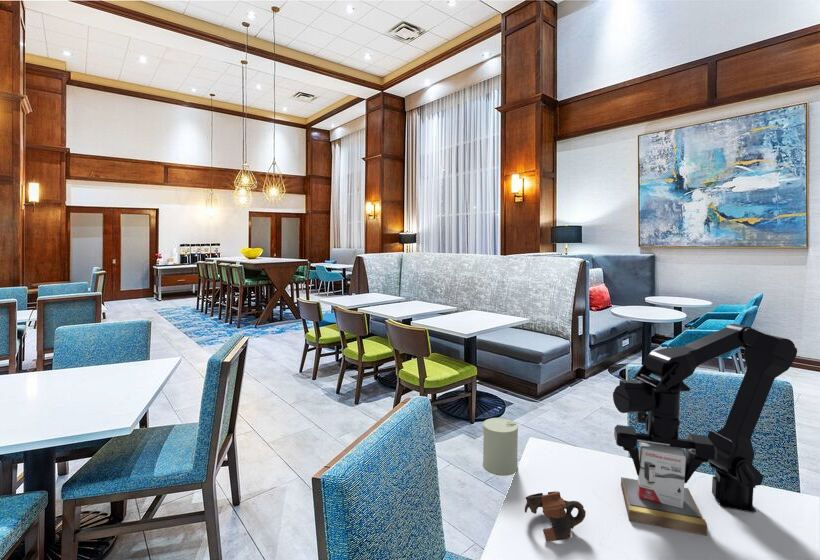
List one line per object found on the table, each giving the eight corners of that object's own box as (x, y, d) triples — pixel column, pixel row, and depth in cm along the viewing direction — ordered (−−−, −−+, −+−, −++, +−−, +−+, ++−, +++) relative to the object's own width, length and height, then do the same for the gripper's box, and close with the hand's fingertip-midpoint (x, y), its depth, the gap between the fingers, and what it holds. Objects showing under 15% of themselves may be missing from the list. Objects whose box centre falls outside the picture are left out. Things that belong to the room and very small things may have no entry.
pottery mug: (531, 545, 82) (520, 499, 86) (532, 537, 91) (522, 494, 94) (594, 537, 80) (580, 489, 84) (589, 529, 88) (576, 486, 92)
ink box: (638, 498, 92) (639, 447, 91) (637, 487, 97) (639, 438, 96) (684, 509, 88) (686, 456, 88) (681, 497, 93) (683, 446, 92)
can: (523, 474, 107) (524, 428, 106) (489, 477, 106) (489, 431, 105) (509, 456, 116) (509, 414, 115) (477, 459, 115) (478, 417, 114)
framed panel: (687, 496, 97) (688, 487, 97) (706, 535, 84) (707, 524, 84) (620, 485, 102) (621, 476, 102) (628, 520, 89) (629, 510, 88)
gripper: (703, 402, 95) (699, 467, 96) (612, 392, 102) (610, 454, 103) (719, 421, 85) (716, 494, 86) (618, 409, 91) (615, 477, 93)
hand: (661, 478), depth 92 cm, fingers closed on ink box, 9 cm apart
